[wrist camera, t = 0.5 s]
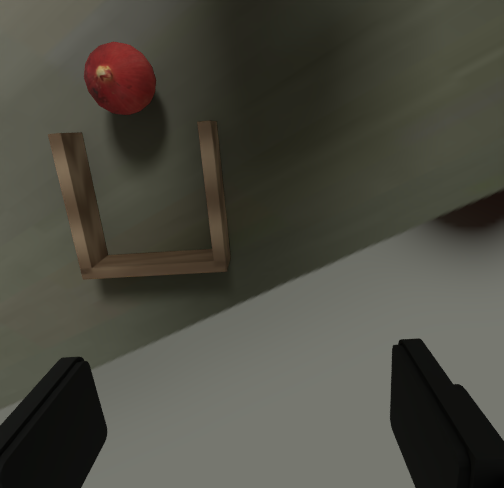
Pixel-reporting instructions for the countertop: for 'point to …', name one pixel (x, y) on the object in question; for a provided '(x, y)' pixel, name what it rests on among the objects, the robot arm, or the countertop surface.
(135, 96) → the onion
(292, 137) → the countertop surface
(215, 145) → the wooden tray
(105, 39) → the countertop surface
